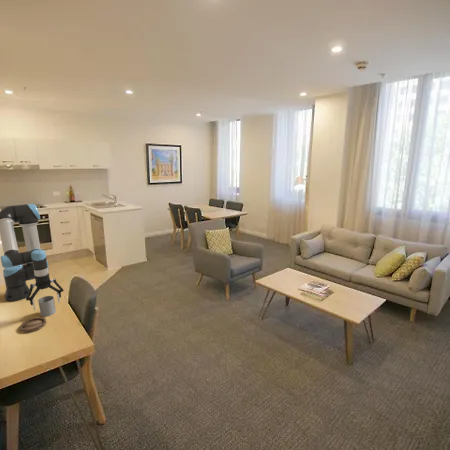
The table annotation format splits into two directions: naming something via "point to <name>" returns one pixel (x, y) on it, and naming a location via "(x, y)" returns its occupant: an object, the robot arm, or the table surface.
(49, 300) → the cup
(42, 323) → the tray
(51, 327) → the table surface
